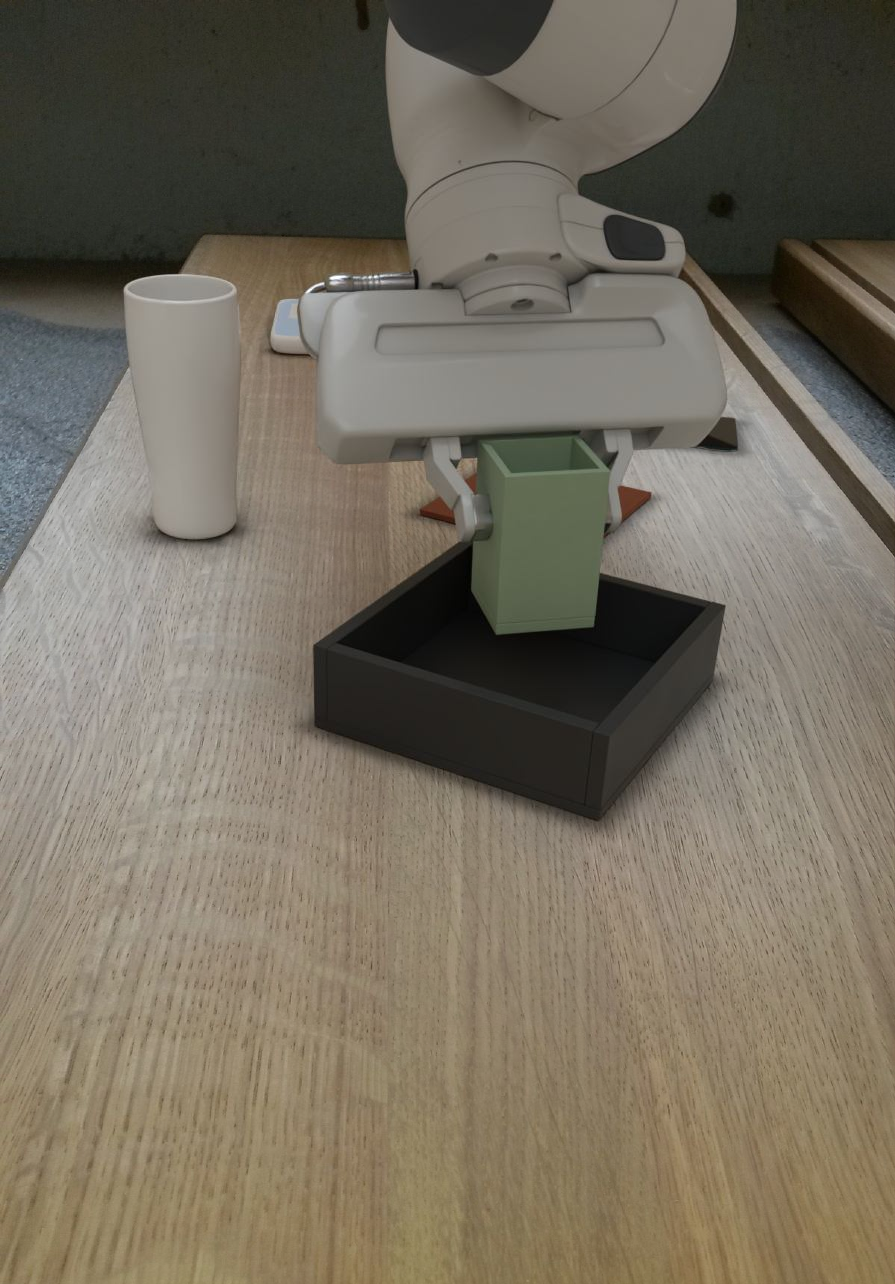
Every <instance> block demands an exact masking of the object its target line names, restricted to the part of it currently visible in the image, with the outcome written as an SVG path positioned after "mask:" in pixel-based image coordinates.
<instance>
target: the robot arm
mask: <svg viewBox="0 0 895 1284" xmlns="http://www.w3.org/2000/svg"><path fill="white" fill-rule="evenodd" d="M383 3H384V6H385V9H386V11H387V14H388V23H387V30H386V40H385V60H384V61H385V87H386V89H385V90H386V100H387V101H386V103H387V110H388V118H389V119H388V120H389V126H390V133H391V134H390V135H391V141H392V148H393V154H394V157H395V161H396V164H397V166H398V169H399V171H400V173H401V175H402V177H403V180H404V181H405V184H406V191H407V196H406V203H405V208H404V230H405V239H406V244H407V252H408V258H409V265H410V270H401V271H400V270H399V271H398V270H396V271H379V272H372V273H367V274H366V273H364V274H362V273H361V274H356V273H354V274H353V273H351V272H342V271H341V272H333V273H327V274H325V275H324V277H323V281H320V282H316V283H314V284H312V285H310V286H309V287H307V289H306V290H304V291H303V292H302V294H301V295H300V297H299V298H298V299H299V302H298V306H297V317H298V325H299V333H300V339H301V342H302V344H303V346H304V348H305V349H306V351H307V352H308V353H309V354H308V355H309V356H310V357H312V358H313V360H316V362H315V363H316V364H315V377H314V425H315V426H314V427H315V438H316V444H317V447H318V448H319V450H320V451H321V452H322V453H323V454H324V455H325V456H326V457H327V459H329V460H330V461H332V463H333V464H335V465H341V466H343V465H345V466H346V465H363V464H381V463H385V464H386V463H402V462H403V463H406V462H423V465H424V474H425V479H426V481H427V482H428V484H429V485H430V486H431V488H432V489H433V490H434V491H435V493H436V494H437V495H438V497H441V498H442V500H443V501H444V502H445V503H446V505H447V506H448V507H449V508H450V509H451V510H454V516H455V523H456V524H455V523H454V524H455V529H456V536H457V539H458V542H473V541H487V540H489V538H490V535H491V534H492V533H493V516H492V514H491V512H490V511H491V503H490V496H489V494H479V495H474V493H473V492H472V490H471V489H470V487H469V486H468V485H467V483H466V482H465V479H464V478H463V476H462V475H461V474H460V472H459V471H458V470H457V469H458V467H459V465H460V462H461V461H462V460H463V459H464V460H465V459H477V455H478V439H485V438H506V437H527V436H548V435H569V434H578V435H579V437H580V438H581V439H582V440H583V441H584V442H585V443H586V444H587V445H588V447H589V448H590V449H591V450H592V451H593V452H594V453H595V454H596V456H597V457H598V458H599V459H600V460H601V461H602V462H603V463H604V464H605V466H606V467H607V468H608V469H609V470H610V480H609V489H608V499H607V508H606V518H605V527H604V533H608V534H611V533H612V534H613V533H615V532H616V531H617V530H618V528H619V527H620V526H622V525H621V524H622V522H621V520H622V512H621V506H620V500H619V494H618V488H619V487H620V485H621V484H622V482H623V479H624V477H625V475H626V473H627V469H628V467H629V465H630V463H631V460H632V458H633V455H634V453H635V451H651V450H652V451H653V450H671V449H690V448H696V447H695V446H696V445H698V444H699V443H700V442H701V441H702V440H703V439H704V438H705V437H706V436H707V435H708V433H709V432H710V431H711V430H712V429H713V428H714V426H715V425H716V423H717V422H718V421H719V419H720V417H723V414H724V412H725V410H726V408H727V405H728V389H727V381H726V377H725V372H724V367H723V362H722V358H721V355H720V350H719V347H718V344H717V340H716V336H715V332H714V330H713V326H712V322H711V320H710V317H709V314H708V311H707V308H706V307H705V306H706V305H705V304H704V303H703V301H702V299H701V297H700V295H699V294H698V292H696V290H695V289H694V288H693V287H692V286H691V285H689V284H688V283H687V282H686V281H684V280H683V279H680V278H679V277H680V274H681V272H682V269H683V267H684V264H685V261H686V256H687V255H686V254H687V253H686V245H685V241H684V238H683V236H682V234H681V233H680V232H679V231H678V229H676V228H674V227H672V226H670V225H667V224H663V223H660V222H658V221H657V222H656V221H653V220H649V219H646V218H642V217H639V216H636V215H633V214H629V213H626V212H623V211H620V210H617V209H614V208H611V207H609V206H607V205H603V204H601V203H599V202H596V201H594V200H591V199H590V198H587V197H584V196H582V195H580V194H579V188H578V187H579V186H578V184H579V180H580V179H581V178H582V177H583V176H584V177H590V176H595V175H598V174H602V173H605V172H607V171H609V170H612V169H615V168H617V167H619V166H621V165H623V164H625V163H627V162H629V161H632V160H633V159H635V158H637V157H639V156H641V155H644V154H645V153H647V152H649V151H650V150H653V149H654V148H656V147H657V146H659V145H660V146H661V144H663V143H665V142H667V141H668V140H671V139H672V138H674V137H675V136H676V135H678V134H679V133H681V132H682V131H683V130H685V129H687V127H689V126H690V125H691V124H692V123H694V121H695V120H696V119H697V118H698V117H699V116H700V115H701V114H702V113H703V112H704V111H705V110H706V109H707V107H708V106H709V104H710V103H711V102H712V100H713V99H714V97H715V96H716V94H717V93H718V91H719V89H720V87H721V85H722V83H723V81H724V79H725V77H726V74H727V73H728V69H729V67H730V63H731V61H732V57H733V54H734V51H735V46H736V41H737V36H738V29H739V28H738V27H739V19H740V18H739V17H740V7H739V4H740V3H739V0H383ZM621 486H622V485H621Z"/></svg>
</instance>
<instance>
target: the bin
mask: <svg viewBox="0 0 895 1284" xmlns="http://www.w3.org/2000/svg"><path fill="white" fill-rule="evenodd" d="M472 560H473V542H459V541H458V542H457V543H455V544H454V545H453V546H450V547H449V548H448V549H447V550H445V551H444V552H442V553H441V554H440V555H438V556H437V557H435V558H434V559H432V560H431V561H430V562H428V563H427V564H426V565H424V566H423V567H421V568H420V569H418V570H417V571H415V572H414V573H412V574H411V575H409V576H408V577H407V578H406V579H404V580H403V581H401V582H400V583H399V584H397V585H395V587H393V588H391V589H390V590H389V591H387V592H386V593H385V594H383V595H382V596H381V597H379V598H377V599H376V600H375V601H373V602H371V603H370V604H369V605H367V606H366V607H365V608H364V609H362V610H361V611H359V612H357V613H356V614H355V615H353V616H352V617H350V618H349V619H348V620H346V621H345V622H344V623H342V624H341V625H339V626H338V627H337V628H335V629H333V630H332V631H331V632H329V633H328V634H327V635H325V636H324V637H323V638H321V639H320V640H318V641H316V643H314V644H313V645H312V649H313V650H312V655H313V657H312V658H313V659H312V660H313V663H312V665H313V709H314V710H313V714H314V715H313V716H314V717H313V718H314V720H313V721H314V722H313V723H314V724H313V725H314V726H315V727H317V728H319V729H322V730H326V731H329V732H332V733H334V734H338V735H340V736H343V737H344V736H345V737H346V738H349V739H352V740H355V741H358V742H361V743H365V744H368V745H370V746H372V747H373V746H374V747H377V748H380V749H383V750H386V751H389V752H392V753H394V754H397V755H401V756H404V757H406V758H410V759H413V760H415V761H418V762H422V763H424V764H427V765H430V766H434V767H436V768H439V769H442V770H445V771H448V772H451V773H454V774H458V775H461V776H464V777H466V778H470V779H472V780H476V781H479V782H482V783H483V784H488V785H490V786H494V787H497V788H500V789H503V790H505V791H508V792H512V793H515V794H518V795H521V796H523V797H526V798H529V799H532V800H534V801H535V800H536V801H538V802H541V803H544V804H547V805H550V806H554V807H557V808H559V809H562V810H565V811H569V812H572V813H574V814H578V815H581V816H583V817H587V818H589V819H593V820H596V821H600V820H601V818H602V817H604V815H605V814H606V812H607V811H608V810H609V809H610V808H611V806H612V805H613V804H614V803H615V802H616V800H617V799H618V798H619V797H620V795H621V794H622V793H623V791H625V789H626V788H627V787H628V786H629V784H631V782H632V781H633V779H634V778H635V777H636V776H637V774H638V773H639V772H640V771H641V769H643V767H644V766H645V765H646V763H648V761H649V760H650V759H651V757H652V756H653V755H654V753H656V751H657V750H658V749H659V748H660V746H661V745H662V744H663V743H664V742H665V740H666V739H667V738H668V736H669V735H670V734H671V733H672V731H673V730H674V729H675V728H676V727H677V726H678V725H679V724H680V722H681V721H682V720H683V718H684V717H685V716H686V714H687V713H688V712H689V711H690V710H691V708H692V707H693V706H694V705H695V704H696V702H697V701H698V700H699V699H700V697H701V696H702V695H703V694H704V692H706V690H707V688H709V686H710V685H711V684H712V682H714V676H715V670H716V665H717V658H718V652H719V648H720V647H719V646H720V642H721V637H722V631H723V624H724V618H725V614H726V613H725V612H726V607H727V605H726V604H723V603H719V602H716V601H710V600H707V599H702V598H699V597H695V596H692V595H687V594H683V593H680V592H676V591H671V590H667V589H664V588H662V587H661V588H660V587H656V586H652V585H649V584H645V583H641V582H637V581H633V580H630V579H625V578H622V577H618V576H613V575H610V574H606V573H602V572H600V575H599V584H598V594H597V603H596V613H595V616H594V617H595V620H594V627H590V628H577V629H564V630H551V631H539V632H526V633H513V634H500V635H496V634H495V632H494V630H493V628H492V627H491V625H490V623H489V621H488V619H487V618H486V616H485V614H484V612H483V611H482V609H481V607H480V605H479V603H478V602H477V600H476V598H475V596H474V594H473V593H472V591H471V584H472Z"/></svg>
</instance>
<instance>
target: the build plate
mask: <svg viewBox="0 0 895 1284" xmlns="http://www.w3.org/2000/svg"><path fill="white" fill-rule="evenodd" d="M736 423H737V422H736V418H735V417H729V416H721V417H720V419H719V421H718V422H717V423H716V425H715V426H714V428H713V429H712V430H711V431H710V432H709V433H708V435H707V436H706V437H705V438H704V439H703V440H702V441H701V442H700V443H699V444H698V445H696V446H695V447H694V448H701V449H705V450H708V451H721V452H736V451H739V440H738V432H737V431H738V430H737V424H736Z"/></svg>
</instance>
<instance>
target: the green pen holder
mask: <svg viewBox="0 0 895 1284" xmlns="http://www.w3.org/2000/svg"><path fill="white" fill-rule="evenodd" d="M476 459H477V460H476V461H477V462H476V473H477V476H476V495H479V494H489V496H490V503H491V511H490V512H491V514H492V516H493V533H492V534H491V535H490V538H489V540H487V541H473V560H472V584H471V591H472V593H473V594H474V596H475V598H476V600H477V602H478V603H479V605H480V607H481V609H482V611H483V612H484V614H485V616H486V618H487V619H488V621H489V623H490V625H491V627H492V628H493V630H494V632H495V634H496V635H500V634H513V633H526V632H539V631H551V630H564V629H577V628H590V627H594V620H595V617H594V616H595V613H596V603H597V594H598V584H599V575H600V573H601V565H602V564H601V562H602V553H603V546H604V545H603V544H604V538H605V537H604V527H605V518H606V508H607V499H608V489H609V480H610V470H609V469H608V468H607V467H606V466H605V464H604V463H603V462H602V461H601V460H600V459H599V458H598V457H597V456H596V454H595V453H594V452H593V451H592V450H591V449H590V448H589V447H588V445H587V444H586V443H585V442H584V441H583V440H582V439H581V438H580V437H579V435H578V434H569V435H548V436H527V437H506V438H485V439H478V455H477V458H476Z"/></svg>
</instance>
